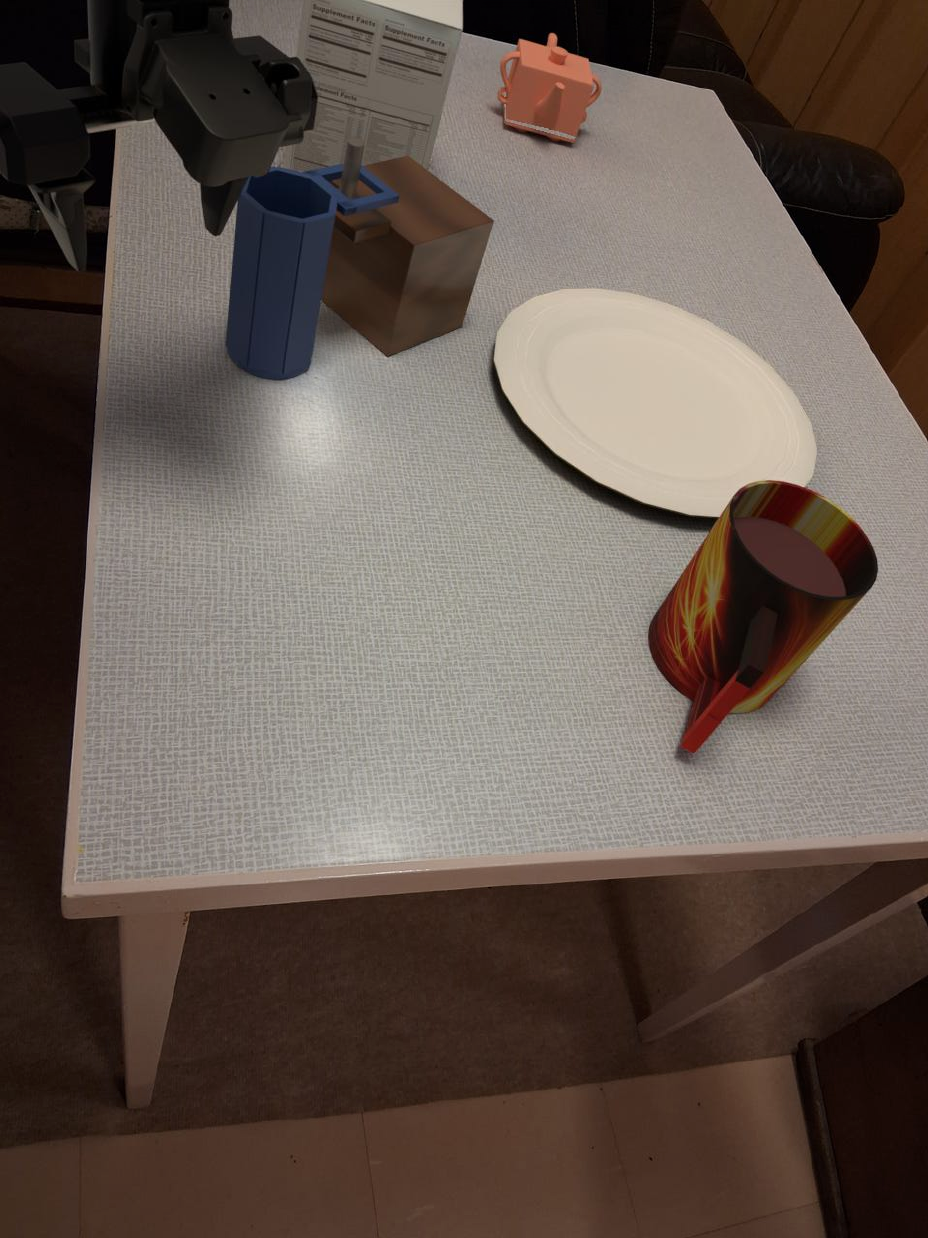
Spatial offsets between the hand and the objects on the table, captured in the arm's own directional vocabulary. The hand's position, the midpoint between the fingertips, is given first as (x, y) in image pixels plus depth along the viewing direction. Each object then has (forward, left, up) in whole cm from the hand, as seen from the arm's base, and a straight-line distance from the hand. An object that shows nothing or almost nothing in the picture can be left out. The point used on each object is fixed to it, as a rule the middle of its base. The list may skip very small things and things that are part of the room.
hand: (148, 249), depth 56 cm
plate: (+34, +24, -13) cm, 44 cm away
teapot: (+13, +69, -13) cm, 71 cm away
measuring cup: (+5, +14, -13) cm, 20 cm away
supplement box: (0, +42, -13) cm, 44 cm away
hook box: (+9, +22, -13) cm, 27 cm away
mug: (+43, -3, -13) cm, 45 cm away
